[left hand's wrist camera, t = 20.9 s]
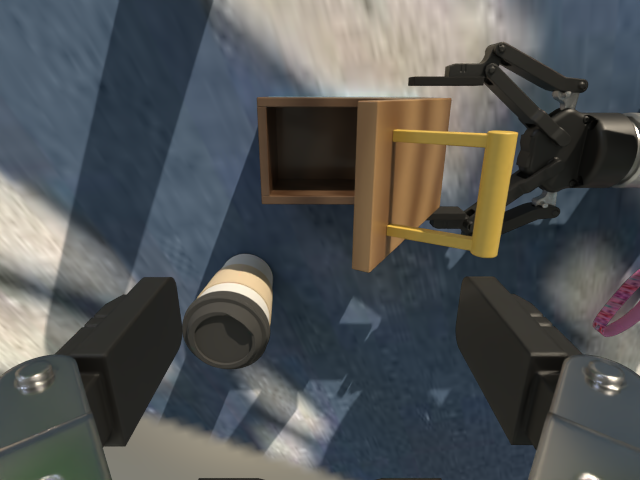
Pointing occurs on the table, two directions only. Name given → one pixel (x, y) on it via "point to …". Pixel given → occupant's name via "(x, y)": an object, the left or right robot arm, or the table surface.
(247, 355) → the coffee cup
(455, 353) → the table surface
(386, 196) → the lid
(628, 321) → the headband
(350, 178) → the chest
